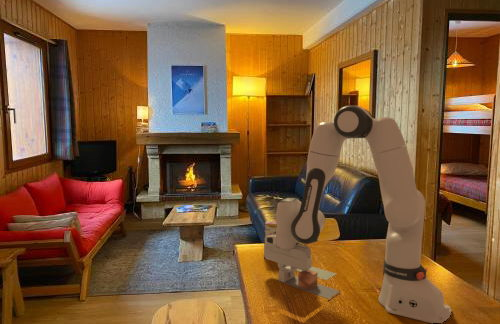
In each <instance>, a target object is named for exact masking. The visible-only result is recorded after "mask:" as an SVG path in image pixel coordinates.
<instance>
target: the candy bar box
mask: <svg viewBox="0 0 500 324" xmlns="http://www.w3.org/2000/svg"><path fill="white" fill-rule="evenodd" d="M276 230H277V223H276V220H274V221H273V220H272V221H270V220H265V222H264V236H263V237H264V239H263V240H264V241H263V243H264V244H263V247H264V246H265V243H266V242H265V237H267V236H269V235H272V234H276ZM263 260H267V259H266V258H265V256H264V255H263Z"/></svg>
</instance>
